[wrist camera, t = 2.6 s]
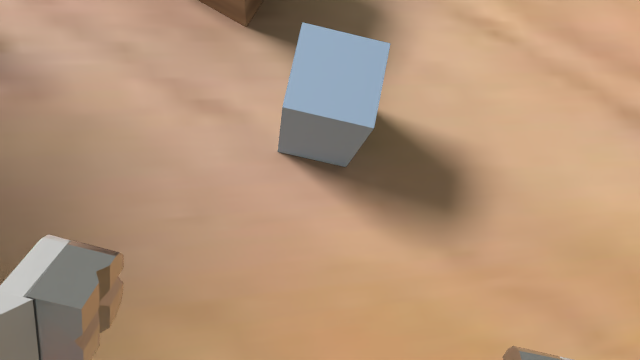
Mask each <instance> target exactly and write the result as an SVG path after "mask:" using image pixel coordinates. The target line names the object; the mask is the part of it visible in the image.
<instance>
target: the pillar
mask: <svg viewBox="0 0 640 360" xmlns="http://www.w3.org/2000/svg"><path fill="white" fill-rule="evenodd" d="M389 48H390V43H386V42H382V41H378V40H374V39H370V38H365V37H361V36H357V35H353V34H349V33H345V32H341V31H336V30H332V29H328V28H324V27H320V26H316V25H312V24H308V23H303V22H302V26H301V30H300V34H299V39H298V43H297V47H296V51H295V56H294V60H293V64H292V69H291V73H290V77H289V82H288V86H287V90H286V95H285V99H284V103H283V108H282V117H281V126H280V136H279V145H278V152H281V153H286V154H290V155H294V156H299V157H303V158H308V159H312V160H316V161H321V162H325V163H330V164H334V165H339V166H343V167H347V165H348V164H349V162H350V161H351V160H352V158H353V157H354V155H355V154H356V153H357V151H358V150H359V148H360V147H361V146H362V144H363V143H364V142H365V140H366V139H367V137H368V136H369V135H370V133H371V132H372V130H373V129H374V126H375V121H376V115H377V110H378V105H379V100H380V95H381V90H382V84H383V79H384V74H385V69H386V64H387V59H388V53H389Z"/></svg>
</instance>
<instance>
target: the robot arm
mask: <svg viewBox="0 0 640 360" xmlns="http://www.w3.org/2000/svg"><path fill="white" fill-rule="evenodd" d="M123 267H124V261H123V254H121V253H119V252H115V251H111V250H108V249H104V248H100V247H96V246H92V245H89V244H85V243H81V242H77V241H72V240H68V239H64V238H60V237H56V236H53V235H49V234H48V235H47V236H45V237H43V238H41V239H40V240H39V241H38V242H37V244H36V245H35V246H34V247H33V248H32V249H31V251H30V252H29V253H28V254H27V255H26V256H25V258H24V259H23V260H22V261H21V262H20V263H19V264H18V266H17V267H16V268H15V269H14V270H13V271H12V273H11V274H10V275H9V276H8V277H7V278H6V280H5V281H4V282H3V283H2V284H1V285H0V360H92V358H93V356H94V354H95V353H96V351H97V349H98V347H99V346H100V333H101V332H102V331H104V330H106V329H108V328H110V326H111V324H112V322H113V320H114V319H115V317H116V314H117V311H118V309H119V306H120V303H121V299H122V294H123V282H122V281H121V279H120V278H119V277H118V276H119V274H120V272H121V271H122V269H123ZM503 360H573V359H568V358H564V357H558V356H555V355H551V354H547V353H542V352H538V351H533V350H529V349H525V348H520V347H516V346H512V347H511V348H509V349H508V350H507V351H506V353H505V354H504V356H503Z"/></svg>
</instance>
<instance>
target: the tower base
mask: <svg viewBox="0 0 640 360" xmlns="http://www.w3.org/2000/svg"><path fill="white" fill-rule="evenodd" d="M199 1H201V2H202V3H204V4H206V5H208V6H209V7H211V8H213V9H215V10H217V11H218V12H220V13H222V14H224V15H225V16H227V17H229V18H231V19H233V20H234V21H236V22H238V23H240V24H241V25H243V26H245V27H247V25H248V24H249V22H250V21H251V19H252V17H253V16H254V14H255V13H256V11H257V10H258V8H259V7H260V5H261V3H262V2H263V0H199Z"/></svg>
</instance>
